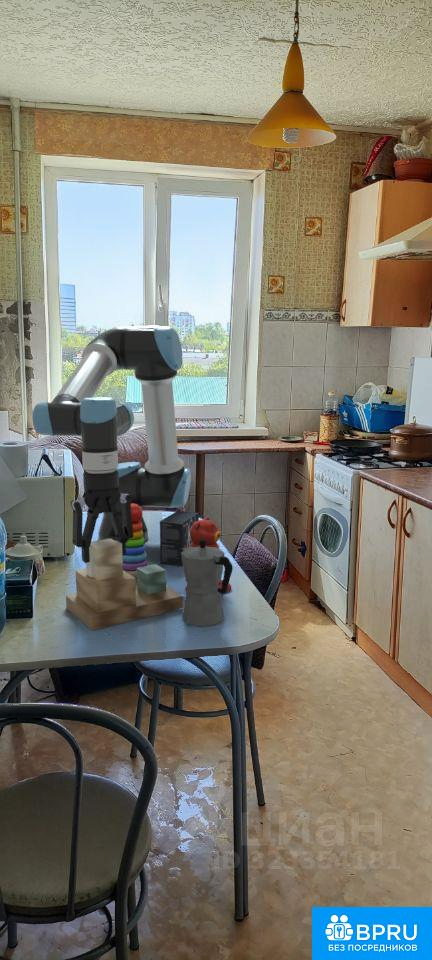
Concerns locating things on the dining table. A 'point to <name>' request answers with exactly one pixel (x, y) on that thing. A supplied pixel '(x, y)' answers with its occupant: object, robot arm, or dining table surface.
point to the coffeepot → (204, 584)
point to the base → (128, 611)
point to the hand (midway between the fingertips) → (104, 572)
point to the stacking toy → (135, 545)
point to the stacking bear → (207, 532)
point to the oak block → (107, 559)
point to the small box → (175, 536)
